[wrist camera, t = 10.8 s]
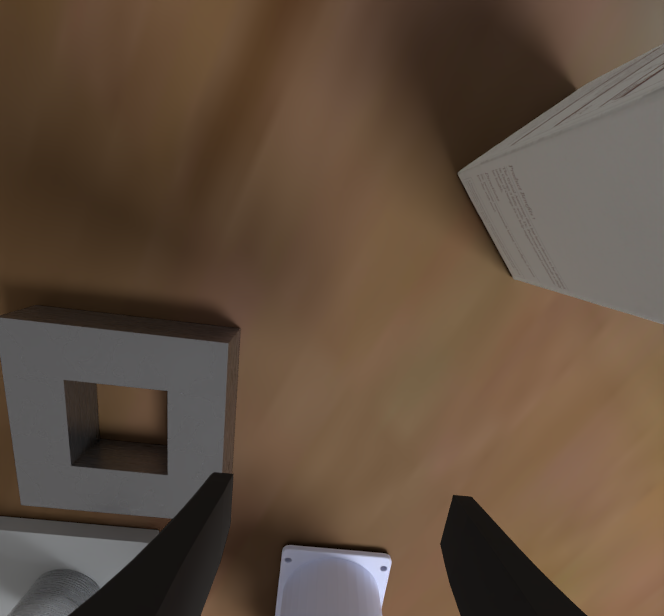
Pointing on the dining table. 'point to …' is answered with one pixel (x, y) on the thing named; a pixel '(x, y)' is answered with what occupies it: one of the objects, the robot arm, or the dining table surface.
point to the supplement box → (585, 192)
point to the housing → (82, 410)
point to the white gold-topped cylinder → (55, 594)
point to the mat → (62, 552)
